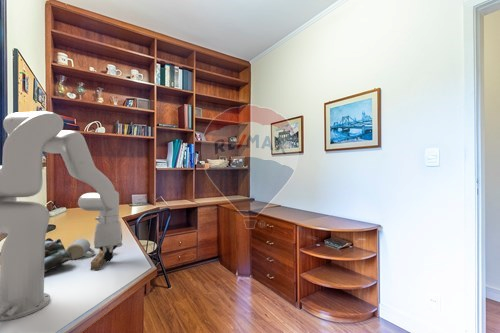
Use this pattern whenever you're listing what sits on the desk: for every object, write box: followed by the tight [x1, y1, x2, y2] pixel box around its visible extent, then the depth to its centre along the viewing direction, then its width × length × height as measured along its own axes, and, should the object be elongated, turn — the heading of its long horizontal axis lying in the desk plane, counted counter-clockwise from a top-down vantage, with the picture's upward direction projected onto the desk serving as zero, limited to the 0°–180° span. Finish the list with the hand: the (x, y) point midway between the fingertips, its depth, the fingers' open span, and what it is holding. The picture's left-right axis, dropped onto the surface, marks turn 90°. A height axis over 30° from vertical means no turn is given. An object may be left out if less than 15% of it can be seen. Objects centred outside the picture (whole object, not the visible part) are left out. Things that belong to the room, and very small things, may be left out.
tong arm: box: [94, 253, 106, 271], centre depth 103 cm, size 16×1×3 cm, turn 18°
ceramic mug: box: [66, 238, 96, 260], centre depth 111 cm, size 11×8×8 cm
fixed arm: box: [90, 250, 104, 271], centre depth 105 cm, size 18×2×3 cm, turn 19°
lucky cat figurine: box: [44, 237, 72, 274], centre depth 96 cm, size 15×12×14 cm
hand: (108, 260), depth 103 cm, fingers closed
